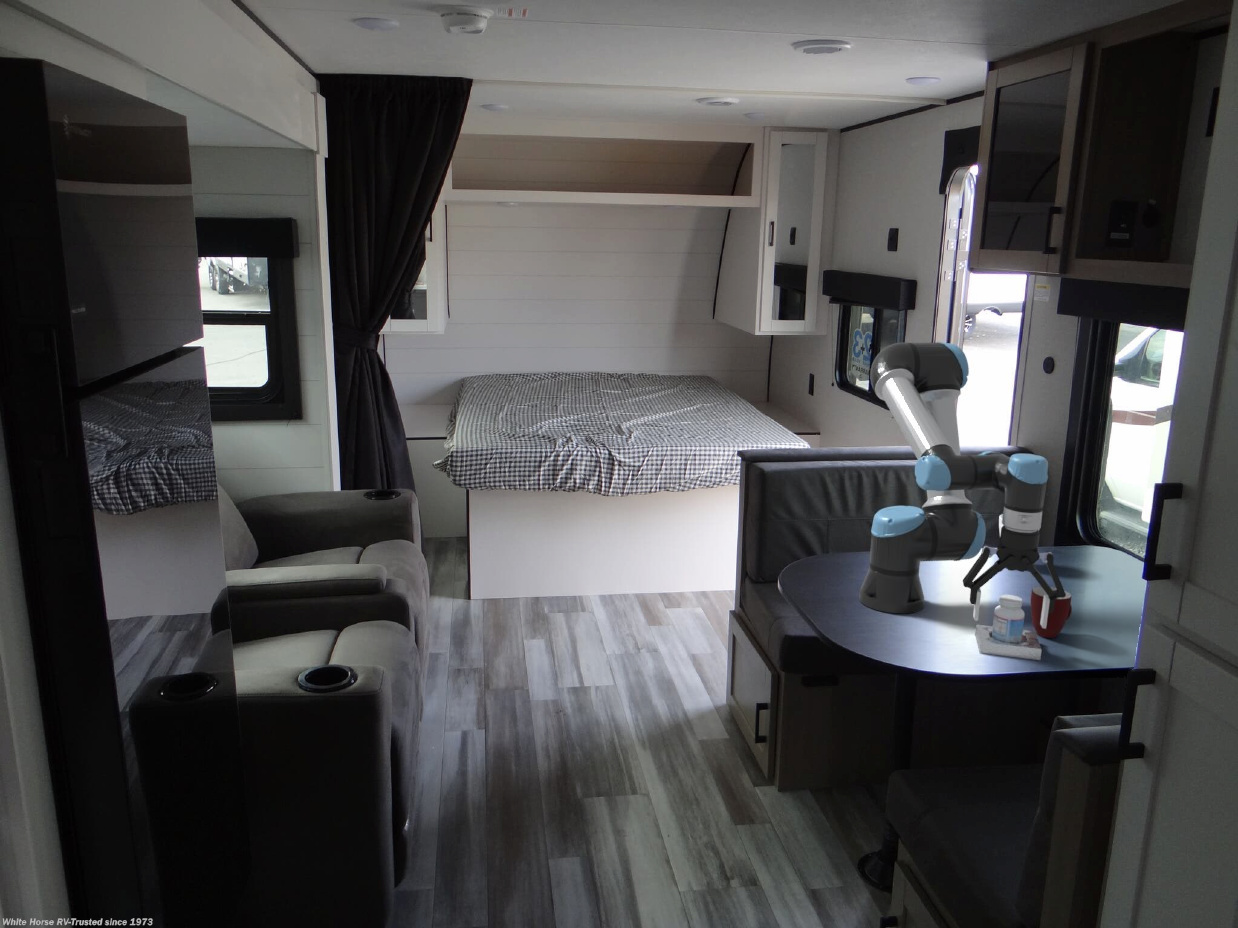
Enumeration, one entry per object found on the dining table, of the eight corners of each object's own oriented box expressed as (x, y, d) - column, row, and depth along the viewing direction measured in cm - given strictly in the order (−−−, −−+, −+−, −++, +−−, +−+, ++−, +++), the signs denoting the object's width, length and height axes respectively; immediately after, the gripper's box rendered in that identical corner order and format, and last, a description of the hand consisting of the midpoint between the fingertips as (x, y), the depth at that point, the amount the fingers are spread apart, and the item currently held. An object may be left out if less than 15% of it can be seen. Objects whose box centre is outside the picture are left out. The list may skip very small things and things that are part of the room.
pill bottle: (1019, 643, 202) (1025, 595, 200) (1021, 654, 196) (1028, 605, 194) (989, 639, 204) (995, 591, 201) (991, 650, 198) (997, 601, 196)
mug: (1047, 623, 214) (1052, 582, 212) (1080, 635, 207) (1086, 593, 205) (1019, 631, 208) (1024, 590, 206) (1051, 644, 202) (1057, 601, 200)
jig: (979, 652, 197) (980, 641, 196) (975, 634, 206) (976, 624, 206) (1040, 660, 194) (1041, 649, 193) (1033, 641, 203) (1034, 631, 203)
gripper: (959, 526, 194) (949, 621, 199) (1089, 539, 187) (1075, 636, 192) (956, 517, 201) (946, 608, 206) (1081, 528, 194) (1068, 622, 199)
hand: (1008, 622), depth 199 cm, fingers open, 13 cm apart
